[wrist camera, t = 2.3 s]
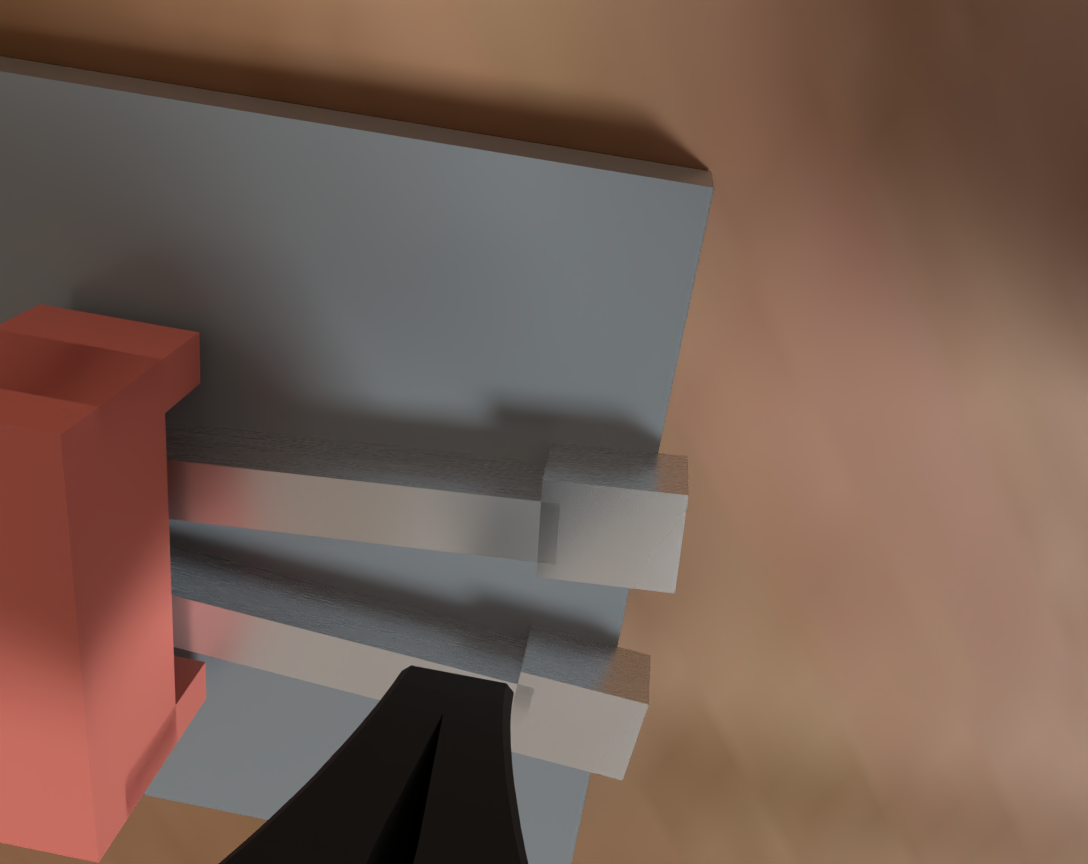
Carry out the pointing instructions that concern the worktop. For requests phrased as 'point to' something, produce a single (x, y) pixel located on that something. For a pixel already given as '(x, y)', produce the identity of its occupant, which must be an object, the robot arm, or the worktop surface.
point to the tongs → (442, 525)
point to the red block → (87, 574)
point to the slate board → (357, 345)
